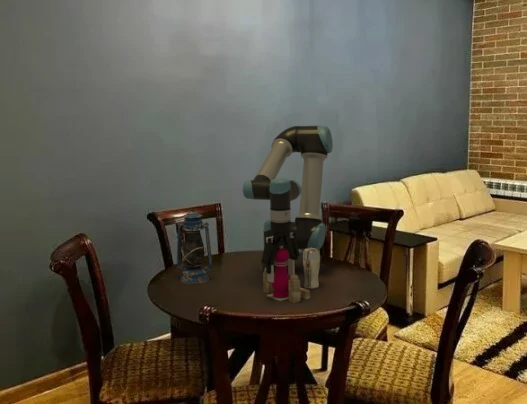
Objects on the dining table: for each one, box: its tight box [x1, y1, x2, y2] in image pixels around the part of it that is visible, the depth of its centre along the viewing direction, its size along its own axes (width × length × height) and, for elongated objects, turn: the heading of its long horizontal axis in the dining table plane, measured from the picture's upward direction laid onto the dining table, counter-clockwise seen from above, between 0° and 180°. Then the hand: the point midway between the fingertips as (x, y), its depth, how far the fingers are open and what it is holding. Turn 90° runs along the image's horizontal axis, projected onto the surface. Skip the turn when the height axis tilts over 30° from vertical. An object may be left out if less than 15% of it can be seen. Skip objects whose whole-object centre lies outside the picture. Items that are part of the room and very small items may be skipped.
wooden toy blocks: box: [262, 268, 311, 304], centre depth 208 cm, size 18×10×10 cm, turn 40°
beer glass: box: [301, 248, 321, 290], centre depth 219 cm, size 7×7×15 cm
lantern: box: [176, 208, 213, 285], centre depth 229 cm, size 15×12×30 cm
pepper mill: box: [272, 245, 290, 298], centre depth 206 cm, size 7×7×20 cm
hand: (281, 278), depth 207 cm, fingers open, 10 cm apart
